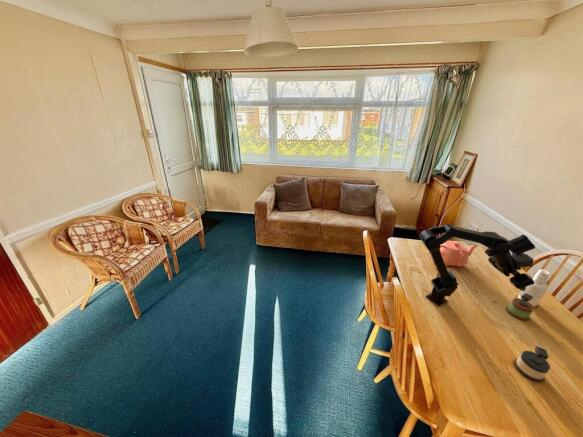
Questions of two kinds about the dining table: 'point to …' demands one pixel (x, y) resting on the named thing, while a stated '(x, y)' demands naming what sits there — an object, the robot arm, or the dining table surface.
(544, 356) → the plain pump
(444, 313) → the dining table surface
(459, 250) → the teapot
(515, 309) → the green cylinder
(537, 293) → the spray bottle
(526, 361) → the black and cream cylinder
